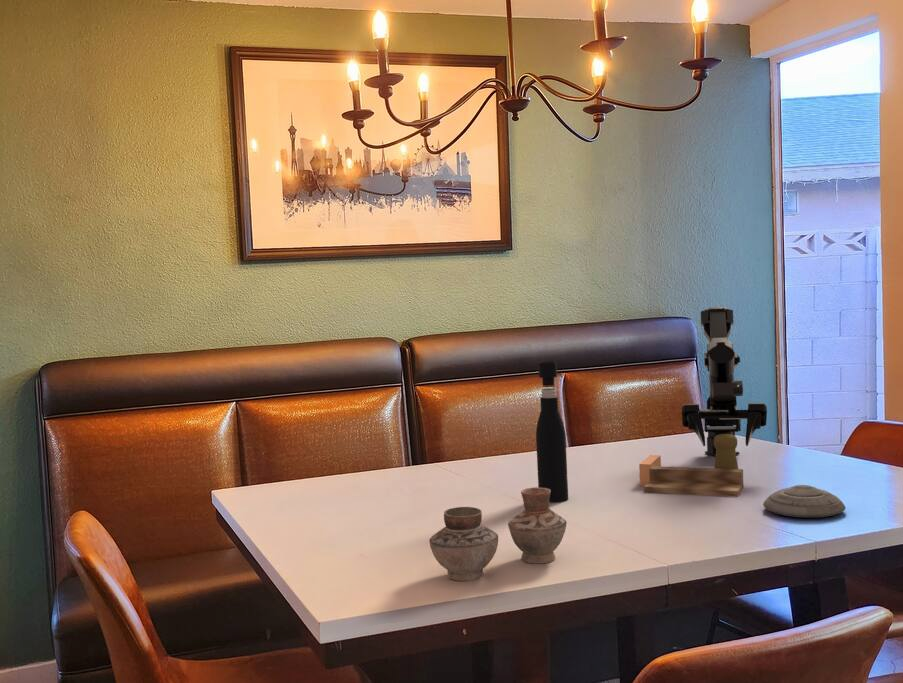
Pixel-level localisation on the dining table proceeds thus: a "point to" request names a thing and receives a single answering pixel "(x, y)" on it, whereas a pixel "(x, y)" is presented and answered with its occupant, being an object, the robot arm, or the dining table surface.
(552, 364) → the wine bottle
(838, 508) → the flying saucer
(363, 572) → the dining table surface
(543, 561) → the pottery
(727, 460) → the cork
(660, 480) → the guide rail
